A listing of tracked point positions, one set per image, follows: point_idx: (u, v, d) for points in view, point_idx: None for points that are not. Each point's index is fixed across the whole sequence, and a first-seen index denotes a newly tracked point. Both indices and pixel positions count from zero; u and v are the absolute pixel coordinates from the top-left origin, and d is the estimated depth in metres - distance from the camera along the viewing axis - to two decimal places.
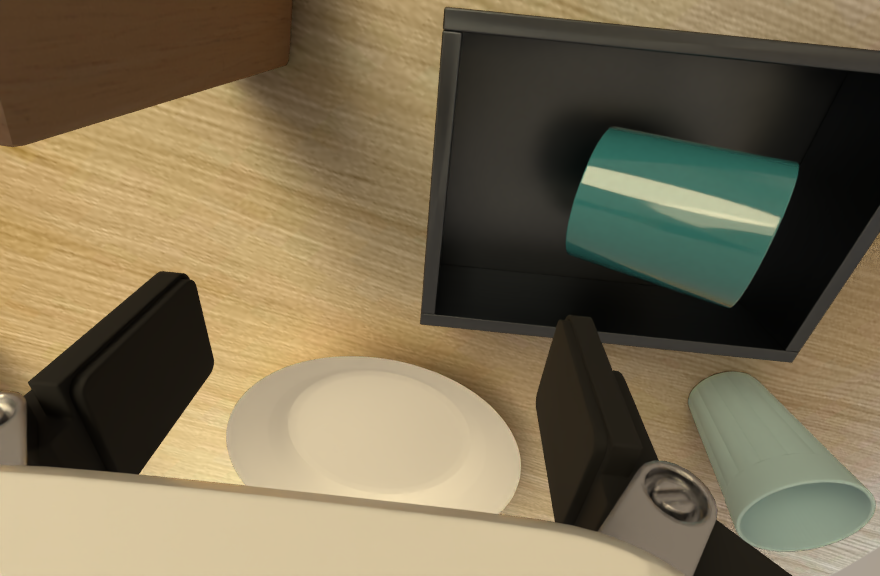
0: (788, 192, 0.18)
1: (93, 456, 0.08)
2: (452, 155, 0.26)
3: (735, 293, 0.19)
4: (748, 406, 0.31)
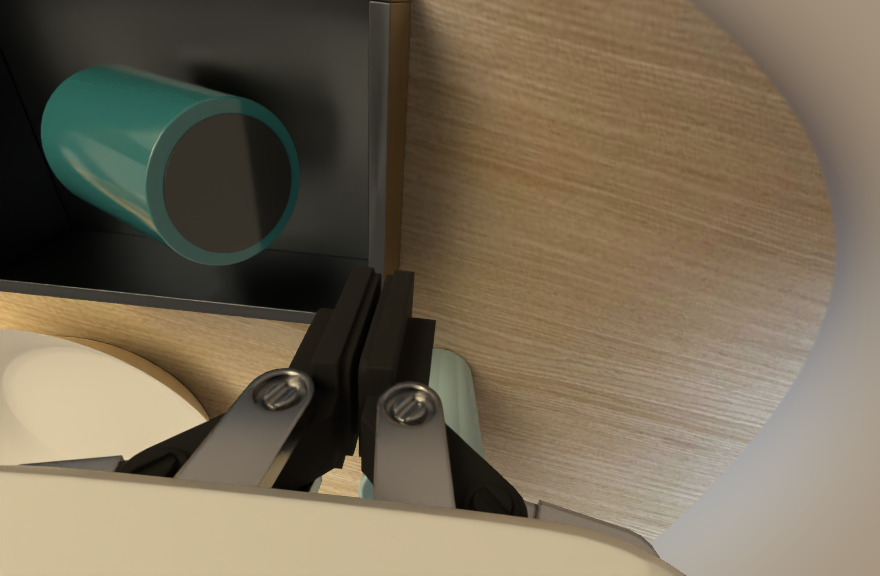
0: (165, 124, 0.15)
1: (340, 429, 0.09)
2: (24, 105, 0.24)
3: (166, 244, 0.17)
4: None
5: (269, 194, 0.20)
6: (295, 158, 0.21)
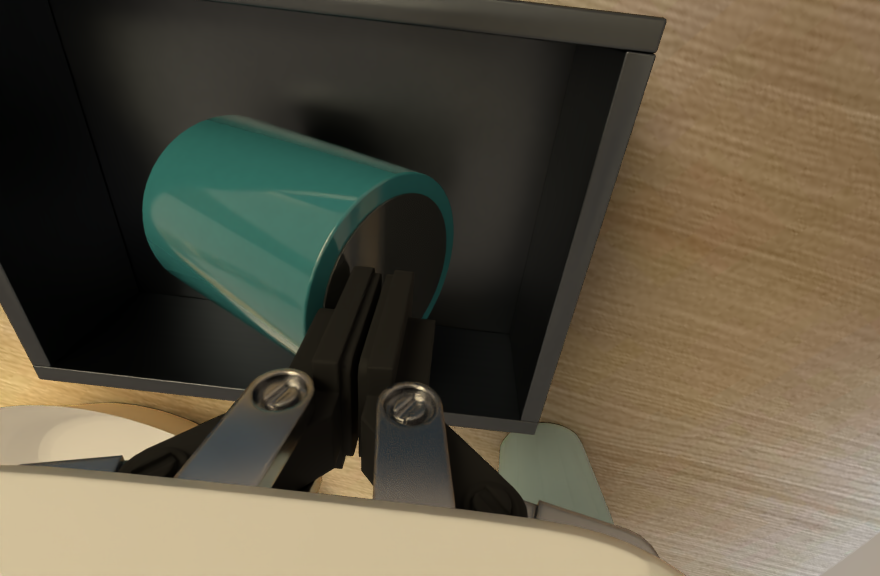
0: (336, 219, 0.11)
1: (340, 429, 0.09)
2: (98, 153, 0.20)
3: None
4: (537, 473, 0.25)
5: (421, 283, 0.16)
6: (451, 236, 0.16)
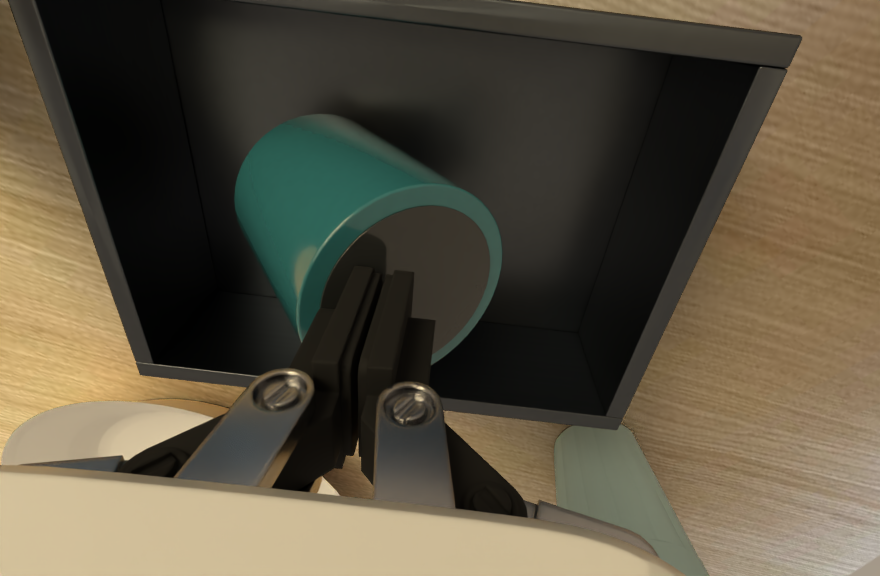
0: (342, 218, 0.11)
1: (340, 429, 0.09)
2: (193, 157, 0.21)
3: None
4: (601, 468, 0.26)
5: (453, 304, 0.15)
6: (498, 260, 0.15)
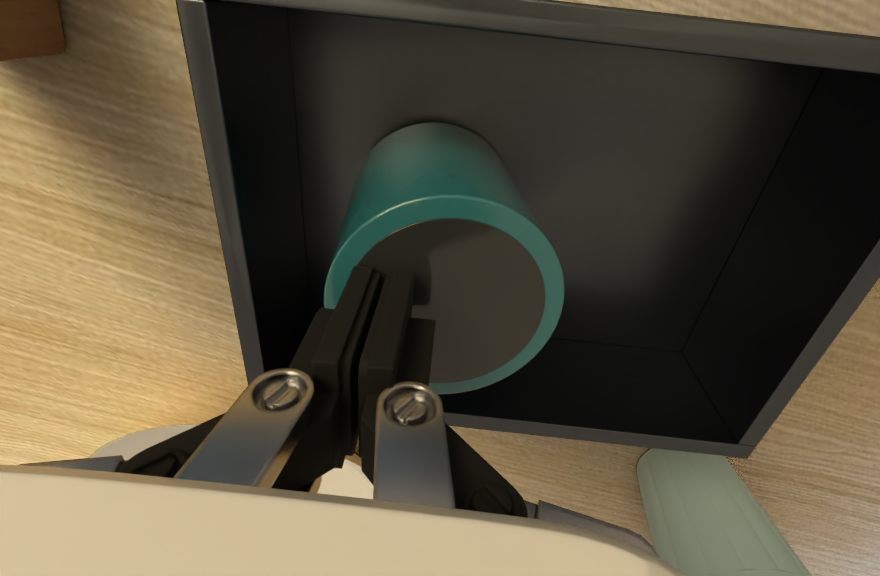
0: (373, 214, 0.11)
1: (340, 429, 0.09)
2: (301, 177, 0.20)
3: None
4: (701, 491, 0.25)
5: (495, 332, 0.13)
6: (558, 300, 0.13)
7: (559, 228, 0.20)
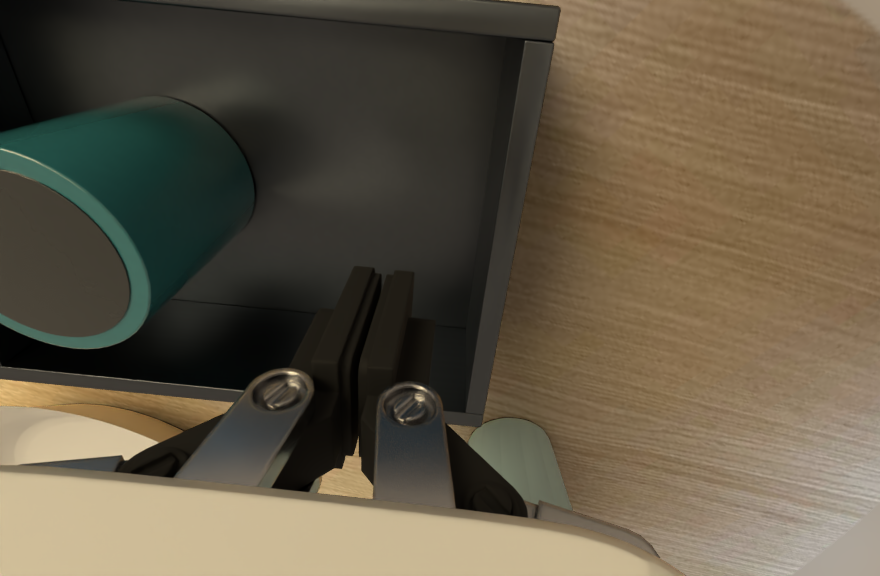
0: None
1: (340, 429, 0.09)
2: None
3: None
4: (498, 467, 0.25)
5: (90, 287, 0.14)
6: (134, 256, 0.13)
7: (309, 203, 0.21)
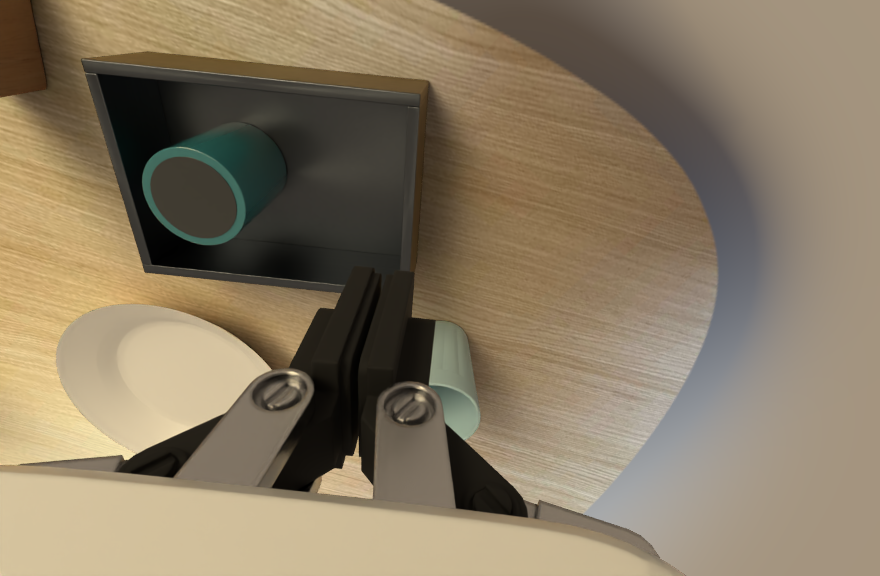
0: (154, 154, 0.29)
1: (340, 429, 0.09)
2: None
3: None
4: None
5: (218, 212, 0.31)
6: (240, 197, 0.30)
7: (316, 180, 0.38)
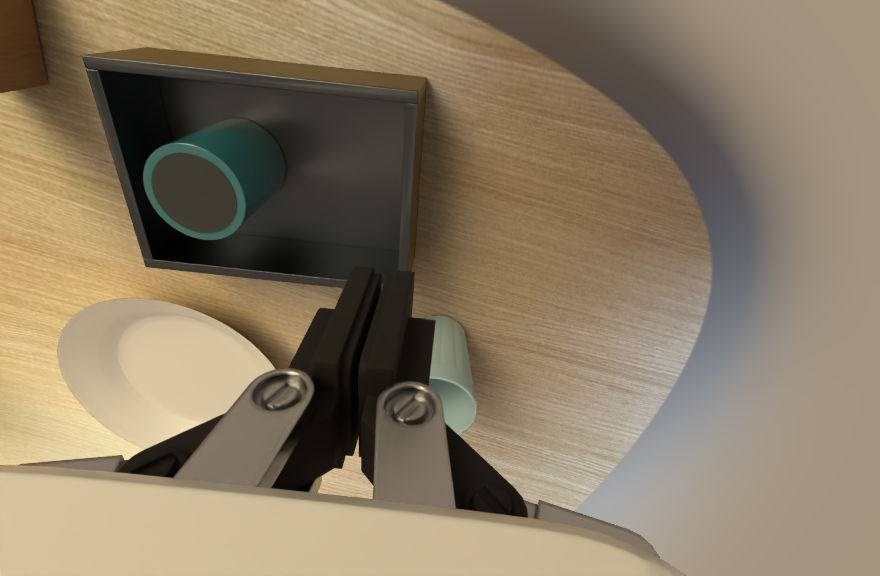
0: (155, 150, 0.29)
1: (340, 429, 0.09)
2: None
3: None
4: None
5: (218, 207, 0.31)
6: (240, 192, 0.30)
7: (315, 176, 0.38)
